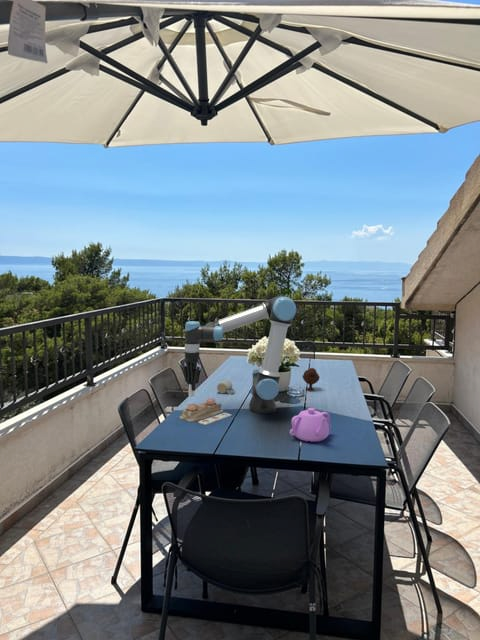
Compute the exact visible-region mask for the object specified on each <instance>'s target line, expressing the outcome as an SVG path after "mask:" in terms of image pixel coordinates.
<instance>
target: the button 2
mask: <svg viewBox="0 0 480 640" xmlns="http://www.w3.org/2000/svg"><path fill="white" fill-rule="evenodd" d="M206 402H207V405H209V406H213V405H215V403H216V399H215V398H212V397H210V398H207V399H206Z"/></svg>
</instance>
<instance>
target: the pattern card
mask: <svg viewBox="0 0 480 640" xmlns="http://www.w3.org/2000/svg"><path fill="white" fill-rule="evenodd" d="M229 417H232V414H231V413H227V412H222V413H219V414H216V415H213V416H210V417H207V418H204V419H201V420H198V421H197V422H198V424H201V425H204V426H206V425H209V424H213V423H214V422H218V421H220V420H223V419H226V418H229Z"/></svg>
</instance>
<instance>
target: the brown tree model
mask: <svg viewBox="0 0 480 640" xmlns="http://www.w3.org/2000/svg"><path fill="white" fill-rule="evenodd" d="M302 379H303V381H304V382H305V383H306V384H308V386H309V387H308V388H306V391H307V390H308V391H307V392H315V391H314V390H315V388H313V385H314V384H316V383H317V382H318V381H319V380H320V375H319V373H318V372H317V369H316V368H314V367H310V368H309V369H307V370H304V372H303V375H302Z"/></svg>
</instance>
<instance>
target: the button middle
mask: <svg viewBox="0 0 480 640" xmlns="http://www.w3.org/2000/svg"><path fill="white" fill-rule="evenodd" d="M196 405H197V408H200V409H203V408H206V405H204V404H203V403H200V404H196Z"/></svg>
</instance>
